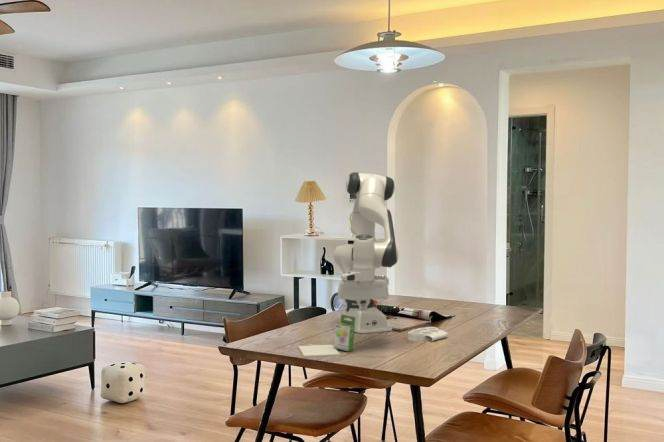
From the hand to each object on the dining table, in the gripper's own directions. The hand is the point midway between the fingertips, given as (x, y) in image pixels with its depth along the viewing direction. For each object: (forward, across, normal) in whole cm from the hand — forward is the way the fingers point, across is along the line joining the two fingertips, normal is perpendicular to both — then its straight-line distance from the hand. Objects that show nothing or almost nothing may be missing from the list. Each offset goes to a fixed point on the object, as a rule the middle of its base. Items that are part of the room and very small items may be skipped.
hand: (363, 310), depth 261 cm
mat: (+16, +18, -1) cm, 24 cm away
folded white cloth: (+16, -32, -16) cm, 40 cm away
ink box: (+16, +8, -1) cm, 18 cm away
